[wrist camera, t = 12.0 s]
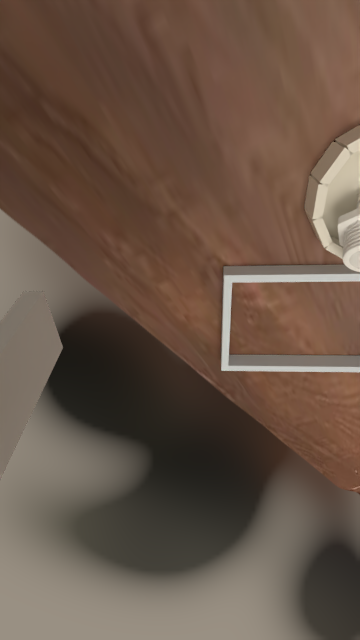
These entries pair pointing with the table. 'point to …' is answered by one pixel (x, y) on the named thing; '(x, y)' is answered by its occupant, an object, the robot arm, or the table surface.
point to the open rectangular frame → (282, 361)
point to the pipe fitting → (350, 237)
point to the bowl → (334, 189)
